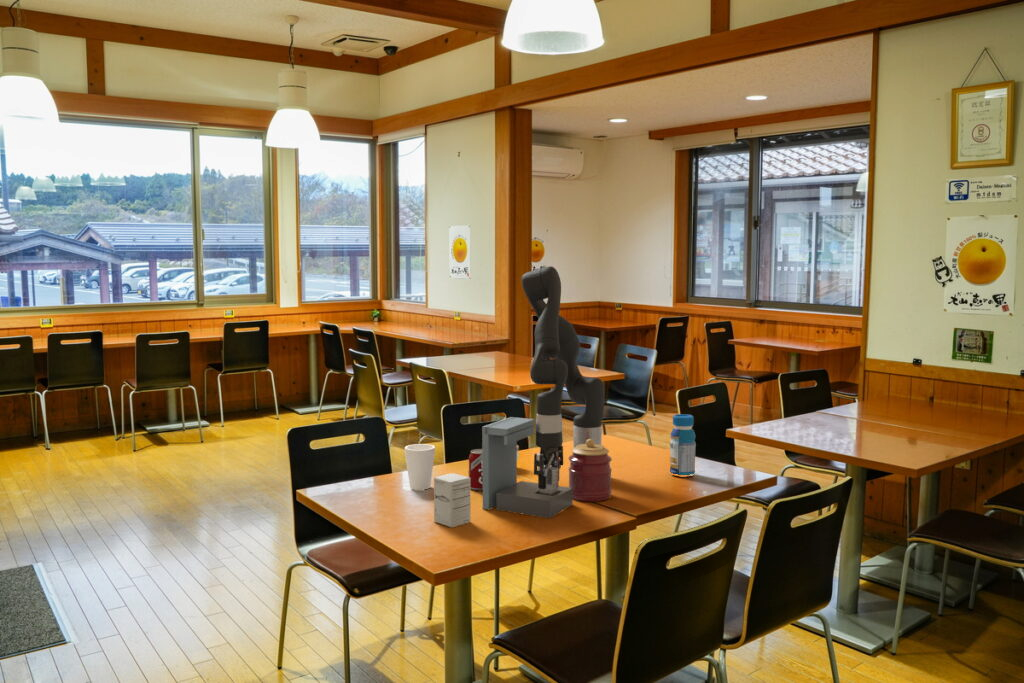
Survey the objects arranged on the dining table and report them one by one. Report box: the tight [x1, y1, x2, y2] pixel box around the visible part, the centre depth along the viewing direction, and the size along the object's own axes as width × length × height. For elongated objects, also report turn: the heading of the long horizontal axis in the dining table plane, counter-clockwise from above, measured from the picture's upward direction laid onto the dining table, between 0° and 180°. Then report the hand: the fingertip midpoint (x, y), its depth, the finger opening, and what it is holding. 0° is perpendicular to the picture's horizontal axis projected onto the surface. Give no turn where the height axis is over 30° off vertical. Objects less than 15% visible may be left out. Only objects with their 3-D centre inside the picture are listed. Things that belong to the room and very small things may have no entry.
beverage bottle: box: [669, 413, 697, 475], centre depth 277 cm, size 8×8×20 cm
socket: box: [495, 480, 573, 519], centre depth 242 cm, size 15×17×5 cm
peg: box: [540, 466, 560, 496], centre depth 240 cm, size 4×4×12 cm
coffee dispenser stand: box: [481, 416, 535, 510], centre depth 245 cm, size 17×8×24 cm, turn 151°
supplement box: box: [433, 472, 472, 528], centre depth 228 cm, size 7×7×13 cm
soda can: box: [468, 448, 483, 491], centre depth 262 cm, size 7×7×12 cm
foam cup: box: [404, 443, 436, 491], centre depth 263 cm, size 10×9×13 cm
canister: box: [568, 439, 613, 503], centre depth 252 cm, size 13×13×18 cm
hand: (548, 485), depth 239 cm, fingers open, 8 cm apart
